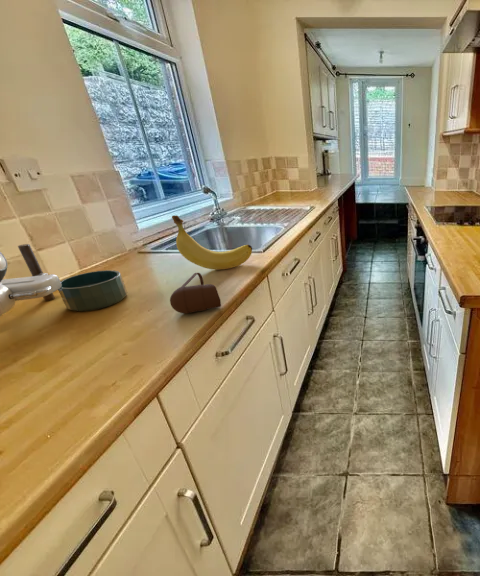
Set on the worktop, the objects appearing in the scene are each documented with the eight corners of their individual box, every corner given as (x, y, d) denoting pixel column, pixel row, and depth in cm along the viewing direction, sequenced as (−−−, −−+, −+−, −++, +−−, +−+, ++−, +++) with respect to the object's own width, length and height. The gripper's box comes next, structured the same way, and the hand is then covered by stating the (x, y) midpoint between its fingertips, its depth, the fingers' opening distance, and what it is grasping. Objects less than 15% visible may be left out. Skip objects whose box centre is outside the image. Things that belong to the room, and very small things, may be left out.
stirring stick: (44, 301, 90) (17, 246, 83) (44, 299, 91) (17, 245, 84) (55, 298, 91) (29, 245, 84) (54, 296, 92) (29, 243, 86)
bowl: (71, 318, 81) (59, 293, 78) (64, 302, 89) (53, 279, 86) (133, 300, 90) (125, 277, 87) (121, 288, 98) (113, 266, 95)
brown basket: (223, 311, 83) (217, 287, 81) (171, 320, 79) (163, 295, 76) (225, 286, 98) (220, 265, 96) (182, 292, 94) (176, 271, 92)
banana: (253, 260, 121) (243, 207, 112) (256, 265, 116) (246, 210, 108) (184, 272, 110) (168, 214, 102) (185, 277, 105) (168, 217, 97)
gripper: (37, 281, 73) (67, 262, 84) (-90, 294, 66) (-38, 272, 78) (49, 305, 75) (76, 283, 87) (-72, 321, 69) (-24, 295, 80)
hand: (22, 278), depth 82 cm, fingers open, 8 cm apart
